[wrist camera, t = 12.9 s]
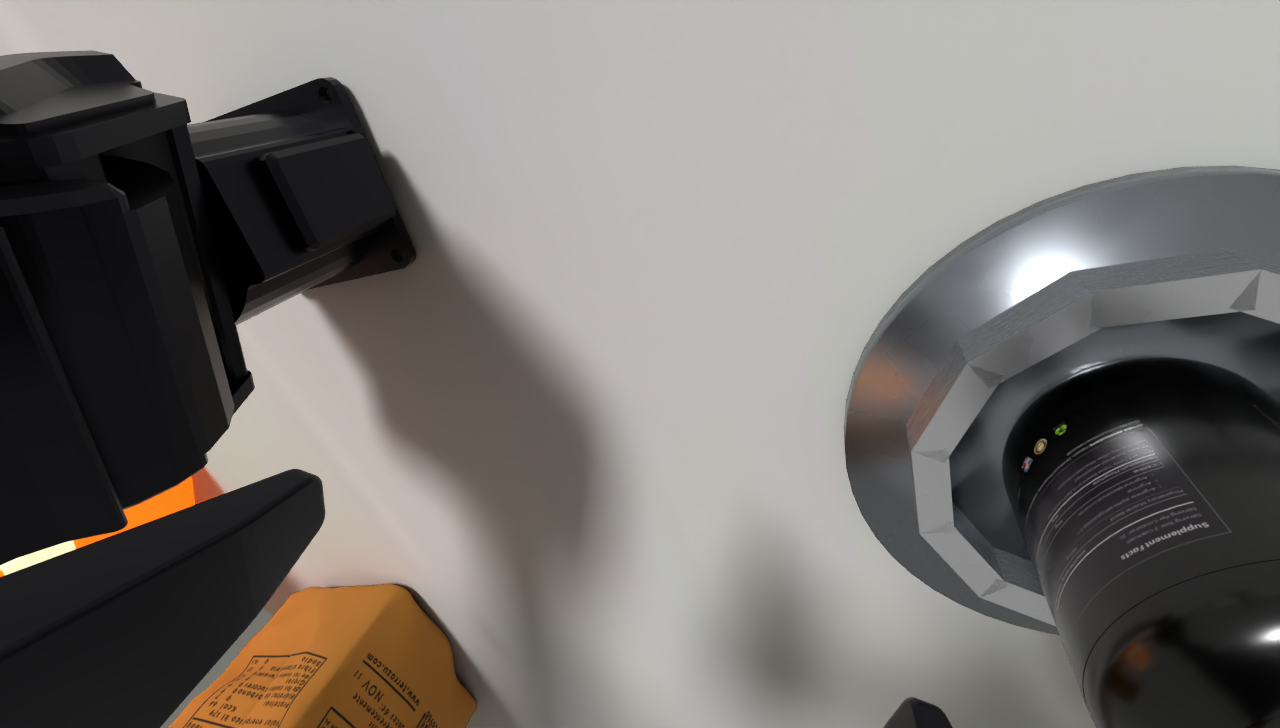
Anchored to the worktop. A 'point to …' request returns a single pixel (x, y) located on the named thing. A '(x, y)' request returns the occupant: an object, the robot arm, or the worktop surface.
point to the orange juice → (135, 515)
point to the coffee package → (339, 668)
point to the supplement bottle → (1157, 539)
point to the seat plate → (1005, 279)
